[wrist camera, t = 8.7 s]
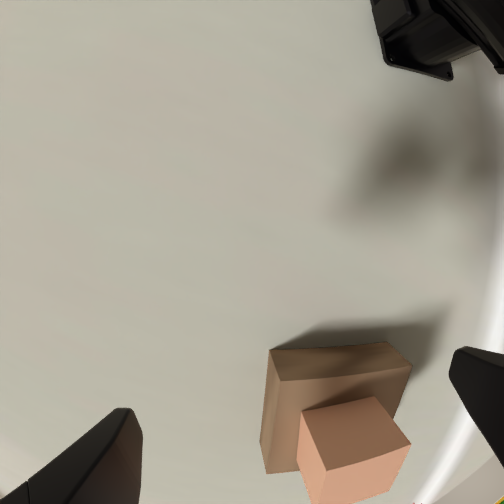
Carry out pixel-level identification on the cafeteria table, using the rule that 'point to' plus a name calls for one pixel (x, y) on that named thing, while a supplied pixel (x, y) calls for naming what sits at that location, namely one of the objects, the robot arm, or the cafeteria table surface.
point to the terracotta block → (349, 451)
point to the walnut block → (323, 390)
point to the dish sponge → (500, 501)
